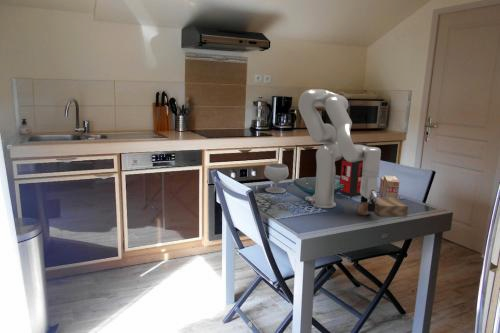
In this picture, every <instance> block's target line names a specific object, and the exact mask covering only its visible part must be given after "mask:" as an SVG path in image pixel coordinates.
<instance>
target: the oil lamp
mask: <svg viewBox="0 0 500 333" xmlns="http://www.w3.org/2000/svg"><path fill="white" fill-rule="evenodd" d="M368 203H369V201H367V202H361V201H360V202H359V205H358V206H357V213H358V214H359V215H361V216H368V215H370V214H371V212H368Z"/></svg>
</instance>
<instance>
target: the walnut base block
mask: <svg viewBox="0 0 500 333" xmlns="http://www.w3.org/2000/svg"><path fill="white" fill-rule="evenodd" d="M371 200H372V199H371ZM408 211H409V205H407V204H406V203H404V202H403V201H402V200H400V199H399V198H398V197H397V198H396V197H382V196H381V197H379V196H377V199H376V204H375V211H374V212H373V213H375V214H376V215H377V216H378V217H404V216H403V215H407V216H408Z"/></svg>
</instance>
